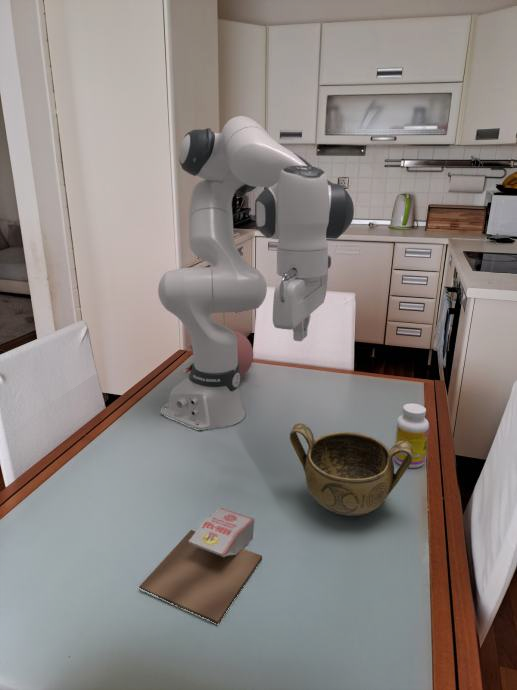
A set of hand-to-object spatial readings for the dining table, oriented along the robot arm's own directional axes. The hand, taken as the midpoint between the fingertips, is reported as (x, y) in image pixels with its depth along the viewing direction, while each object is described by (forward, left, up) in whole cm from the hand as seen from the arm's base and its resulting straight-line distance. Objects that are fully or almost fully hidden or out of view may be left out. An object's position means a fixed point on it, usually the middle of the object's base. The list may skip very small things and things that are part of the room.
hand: (300, 338), depth 91 cm
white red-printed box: (-4, -18, -29) cm, 35 cm away
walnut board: (-4, -29, -31) cm, 43 cm away
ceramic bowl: (+11, -2, -31) cm, 33 cm away
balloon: (-42, +40, -31) cm, 66 cm away
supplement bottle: (+19, +18, -31) cm, 41 cm away
